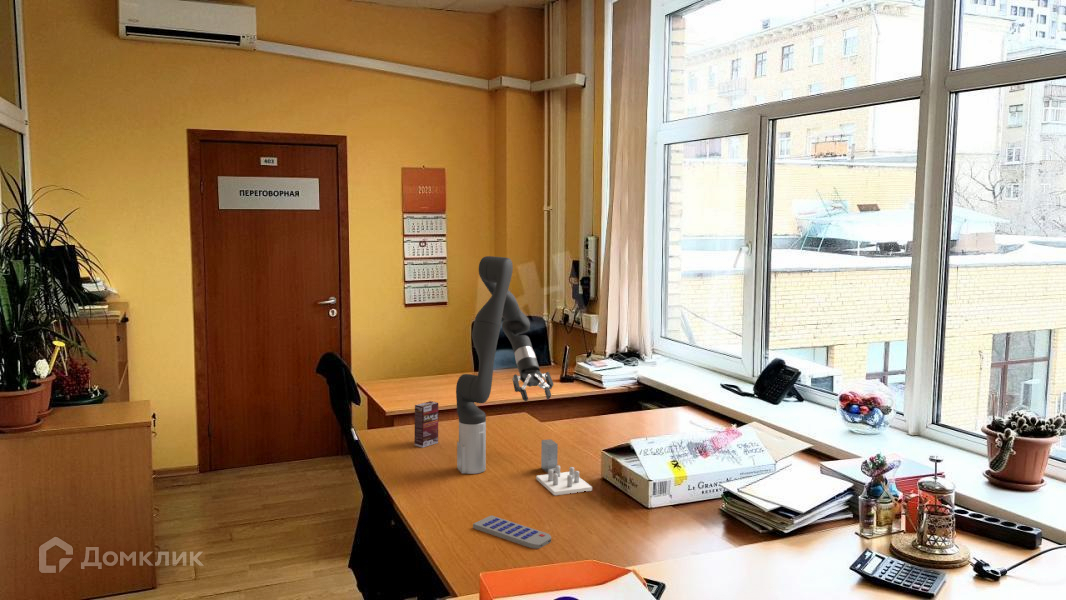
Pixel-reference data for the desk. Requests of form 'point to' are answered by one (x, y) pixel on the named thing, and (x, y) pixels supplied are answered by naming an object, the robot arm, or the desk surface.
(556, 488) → the tray
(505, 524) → the remote control
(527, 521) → the desk surface
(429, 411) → the supplement box
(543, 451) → the drive
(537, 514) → the desk surface
